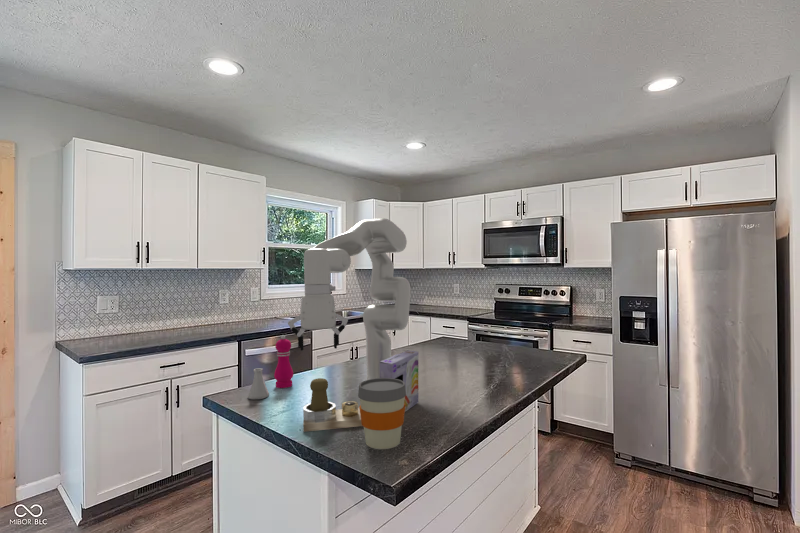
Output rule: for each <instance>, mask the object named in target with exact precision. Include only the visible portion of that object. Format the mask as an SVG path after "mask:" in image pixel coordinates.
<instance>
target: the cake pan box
mask: <svg viewBox="0 0 800 533" xmlns="http://www.w3.org/2000/svg"><path fill="white" fill-rule="evenodd" d="M380 378H393V379H399V380H402V381H403V382H404V383H405V389H406V396H405V399H404V404H405V413H406V412H407V411H408V410H410V409H411V408H413V407H414V406H415V405H417V404H418V403H419V351H418V350H417V351H416V350H412V349H411V350H409V349H406V350H405V351H402V352H400V353H396V354H394V355H391V357H390V358H388V359H385V360H383V361H380Z"/></svg>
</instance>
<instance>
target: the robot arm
mask: <svg viewBox="0 0 800 533" xmlns="http://www.w3.org/2000/svg"><path fill="white" fill-rule="evenodd" d="M407 242H408V241H407V237H406V234H405V233H404V231H403V230H402V229H401V228H400V227H399V226H397V224H396V223H395V222H393V221H392V220H390V219H388V218H384V217H383V218H382V217H381V218H371V219H369V218H368V219H362V220H361V221H359V222H357V223H356V224H355V225H353V226H352V227H351V228H349V229H348V230H347V231H345V232H344V233H341V234H338V235H336V236H334V237H332V238H328V239H326V240H323V241H322V242H319V243H318V244H316V245H315V246H314V247H312V248H309V249H306V250H305V251H304V254H303V268H304V269H303V271H304V273H303V276H304V277H303V280H304V295H301V296H302V297H301V304H300V314H299V315H297V316H296V317H294V318H292V319H290V320H288V322H287V325H288V326H289V329H290V330H291V332H292V333H293V334H295V335H296V337H297V348H300V351H304V335H303V334H304V332H305V331H309V330H310V331H311V330H313V331H314V330H332V331H333V348H334V349H336V350H337V348H338V346H340V334H341V332H343V330H344V329H345V328H346V326H347V324H348V322H349V319H348V318H346V317H345V316H342V315H340V314H339V313H336V305H335V298H334V294H332V293H331V292H335V291H336V290H337V289H336V286H335V285H334V286H333V285H331V274H340V273H345V272H346V271H347V270H348V269H349V268H350V266H351V263H352V260H351V259H352V258H351V257H354V256H357V255H358V254H360V253H362V252H363V251H364V250H365V251H366V252H367V254H368V256H369V259H370V262H371V266H372V268H371V279H370V286H369V287H370V288H369V295H370V298H371V300H373V301H376V302H389V303H390V302H394V304H383V303H382V304H379V303H378V304H377V303H376V304H371V305H368V306H367V307H365V308H364V309H363V314H362V319H363V325H364V331H365V346H366V347H365V349H366V350H365V351H366V357H365V358H366V380H369V379H375V378H380V361H383V360H385V359H388V358H390V357H391V356H392V342H391V341H392V340H391V337H390V335H389V333H388V332H387V331H403V330H405V329H406V328H407V326H408V323H409V318H410V305H411V295H412V294H411V291H412V290H411V285H410V282H409V280H408V279H407V278H406V277H402V276H394V271H395V270H394V269H395V268H394V263H393V261H392V259H391V257H389V255H388V253H389V254H390V253H391V254H394V253H401V252H403V251H404V250H405V249H406V248H407ZM337 320H339V321H340V322H341V324H340V325H339V327H337V326H336V323H337ZM299 321H300V329H298V328H297V327H296V325H295V324H296V323H298V322H299Z"/></svg>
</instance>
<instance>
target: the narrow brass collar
mask: <svg viewBox="0 0 800 533" xmlns="http://www.w3.org/2000/svg"><path fill="white" fill-rule="evenodd" d="M358 408H359V403H358V402H357V401H355V400H354V401H345V402H342V403H341V409H342V416H345V417H353V416H356V415H358Z"/></svg>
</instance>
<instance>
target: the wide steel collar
mask: <svg viewBox="0 0 800 533" xmlns="http://www.w3.org/2000/svg"><path fill="white" fill-rule="evenodd" d="M328 405H329V409H327V410H324V411H310V407H311V402H310V403H307V404H306V405H304V406H303V409H302V410H303V413H302V414H303V420H305V421H307V422H311V423H320V422H326V421H330V420H332V419H334V418H335V417H336V410H337V409H336V408H337V407H336V403H333V402H331V401H328Z"/></svg>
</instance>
